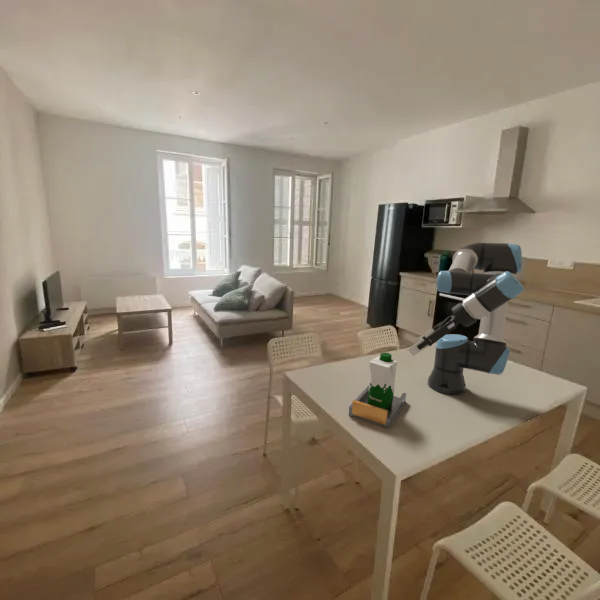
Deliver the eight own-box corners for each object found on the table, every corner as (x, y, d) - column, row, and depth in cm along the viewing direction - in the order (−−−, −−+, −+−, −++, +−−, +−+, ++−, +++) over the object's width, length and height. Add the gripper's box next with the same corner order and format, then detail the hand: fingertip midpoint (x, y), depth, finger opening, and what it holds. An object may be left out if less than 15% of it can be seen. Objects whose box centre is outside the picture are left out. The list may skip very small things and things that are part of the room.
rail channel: (369, 391, 135) (370, 378, 134) (405, 401, 128) (406, 387, 127) (348, 415, 117) (349, 400, 116) (389, 428, 109) (390, 413, 108)
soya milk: (395, 405, 123) (399, 355, 119) (385, 414, 116) (389, 362, 112) (374, 397, 128) (378, 350, 124) (363, 406, 122) (366, 356, 118)
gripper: (474, 329, 89) (414, 367, 100) (481, 312, 110) (430, 345, 121) (456, 308, 91) (398, 347, 102) (465, 295, 111) (416, 329, 122)
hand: (415, 346), depth 111 cm, fingers open, 13 cm apart
